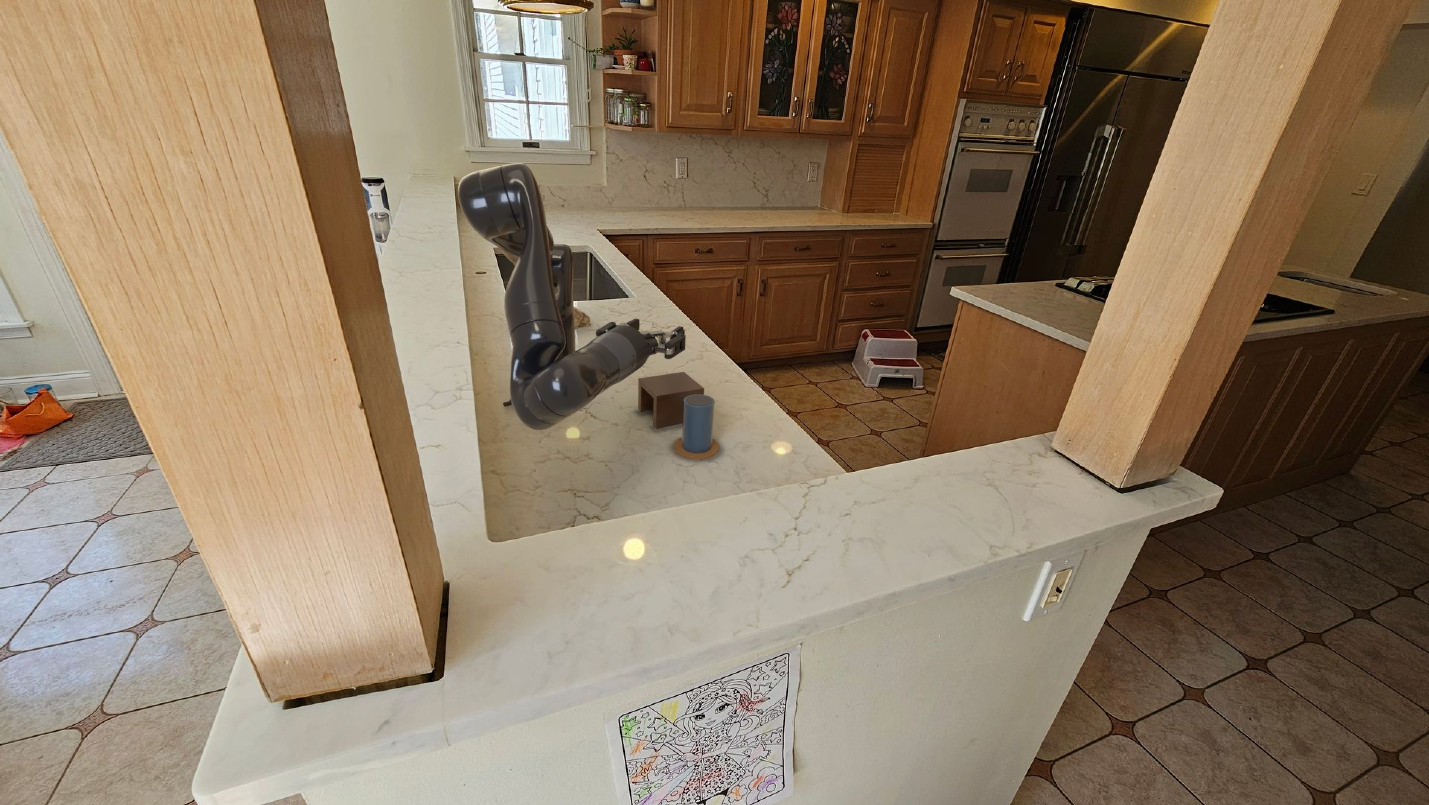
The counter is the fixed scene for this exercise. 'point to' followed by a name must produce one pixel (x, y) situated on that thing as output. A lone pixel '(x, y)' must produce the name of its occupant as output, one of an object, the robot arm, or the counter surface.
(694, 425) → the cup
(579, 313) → the rock
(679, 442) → the coaster
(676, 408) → the shelf
